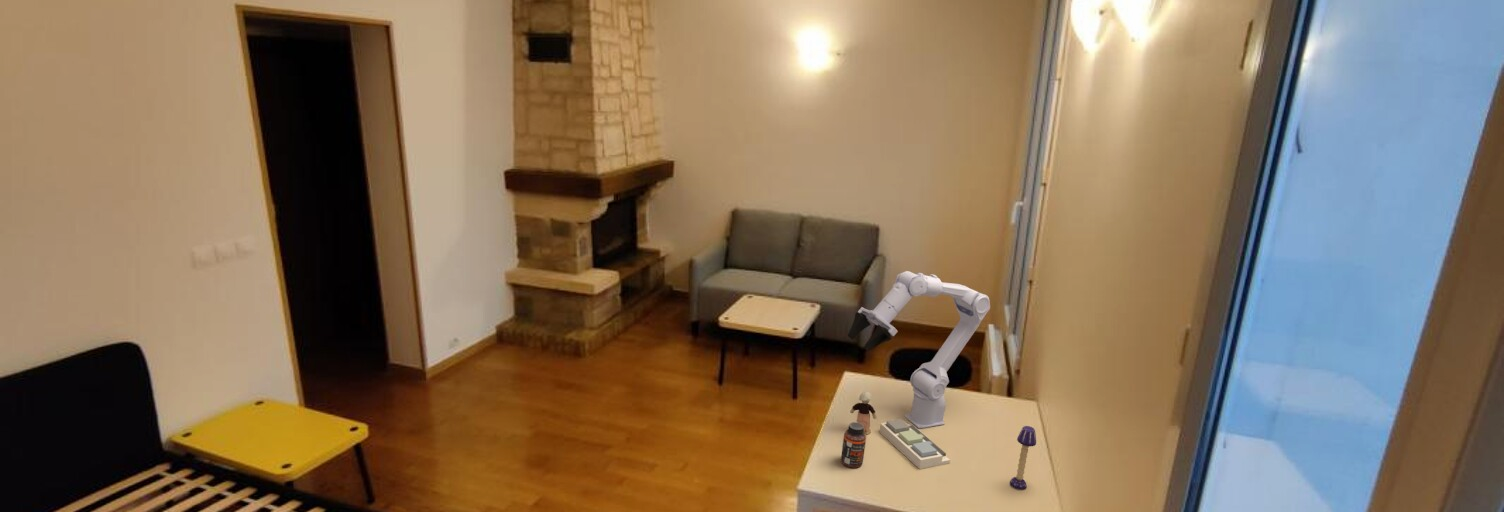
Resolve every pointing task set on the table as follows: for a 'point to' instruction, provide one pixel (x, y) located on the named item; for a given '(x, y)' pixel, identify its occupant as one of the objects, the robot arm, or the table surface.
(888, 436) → the keypad
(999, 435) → the table surface
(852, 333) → the robot arm
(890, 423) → the grey key
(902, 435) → the sage key
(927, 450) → the slate key
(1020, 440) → the toy lamp
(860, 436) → the supplement bottle
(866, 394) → the grandmother figurine
